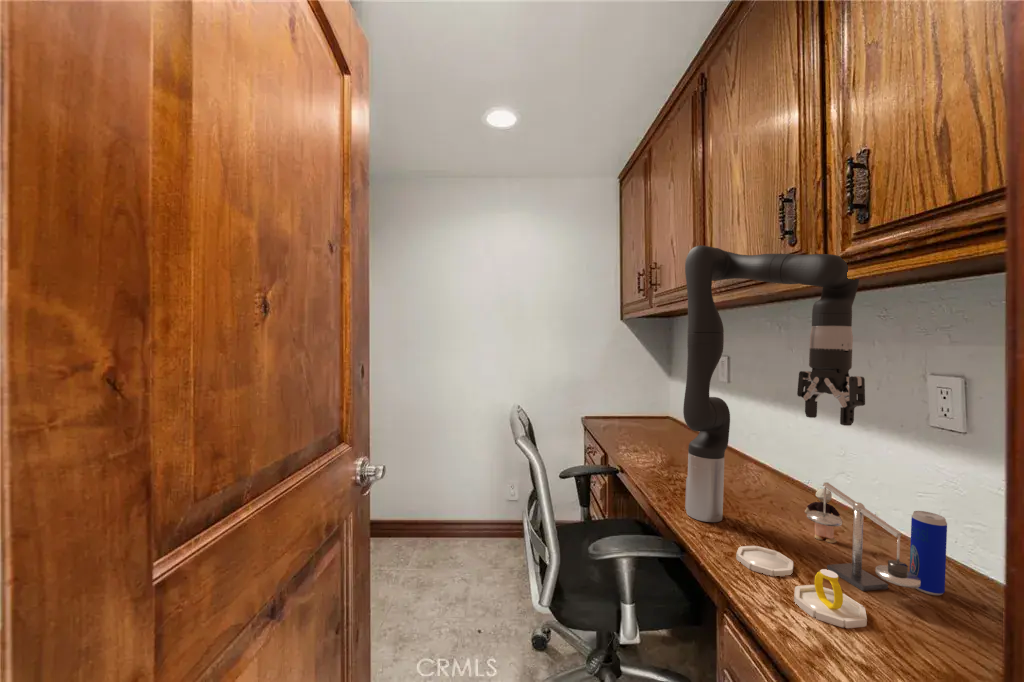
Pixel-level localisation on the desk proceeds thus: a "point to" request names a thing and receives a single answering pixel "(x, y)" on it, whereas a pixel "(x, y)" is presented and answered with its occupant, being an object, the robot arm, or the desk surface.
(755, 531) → the desk surface
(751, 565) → the dish upper pan side
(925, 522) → the beverage can
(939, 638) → the desk surface
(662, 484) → the desk surface
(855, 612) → the dish lower pan side
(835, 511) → the grandmother figurine
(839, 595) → the watch
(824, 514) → the balance
